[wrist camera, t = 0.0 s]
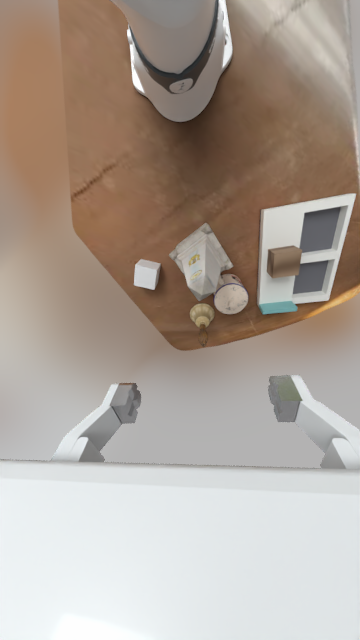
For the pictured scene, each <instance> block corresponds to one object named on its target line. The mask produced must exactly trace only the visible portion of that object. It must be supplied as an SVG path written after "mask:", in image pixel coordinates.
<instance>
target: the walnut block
mask: <svg viewBox="0 0 360 640" xmlns="http://www.w3.org/2000/svg"><path fill="white" fill-rule="evenodd" d="M301 255H302V250H301V249H300V248H298V247H296V246H294V245H293V246H286V247H279V248H273V249H268V258H267V273H268V274H269V275H270V276H271V277H272V278H279V277H287V276H295V275H298V274H299V268H300V262H301Z"/></svg>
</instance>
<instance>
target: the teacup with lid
mask: <svg viewBox="0 0 360 640" xmlns="http://www.w3.org/2000/svg"><path fill="white" fill-rule="evenodd" d="M247 302H248V293H247V291H246V289H245V288H244V287H243V285H242V282H241V280H240V279H239V278H238V277H237V276H235V275H233V274H224V275H221V274H219V279H218V284H217V288H216V292H214V305H215V307H216V308H217V309H218V310H219V311H220V312H222V313H225V314H235V313H238V312H240V311H241V310H242V309H243V308H244V307H245V306H246V304H247Z"/></svg>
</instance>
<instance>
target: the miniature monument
mask: <svg viewBox="0 0 360 640" xmlns="http://www.w3.org/2000/svg"><path fill="white" fill-rule="evenodd" d="M169 256H170V258H171V259H172V260H174V261H175V262H176V264H177V265H178V267H179V268H180V270H181V271H182V273H183V274H184V275H185V277H186V281H187V285H188V287H189V289H190V290H191V291H192V293H193V294H194V295H195V297H196V298H197V299H198V301H201V300H202V299H204V298H206V297H207V296H209V295H211V294H212V293H214V292H216V288H217V284H218V279H219V274H220V273H221V272H222V271H224V270H227V269H230V268H232V267H233V265H232V263H231V261H230V260H229V258H228V256H227V255H226V253H225V251H224V250H223V248H222V246H221V245H220V243H219V241H218V240H217V238H216V236H215V235H214V233H213V231H212V230H211V228H210V226H209V225H208V224H207V223H205V224H204V225H202V226H201V227H200V228H198V229H197V230H196V231H195V232H193V233H192V234H191V235H189V236H188V237H187V238H186V239H184V240H183V241H182V242H180V243H179V244H178V245H177V246H176V248H175V250H173V251H172V252H171V253H170V254H169Z"/></svg>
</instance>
